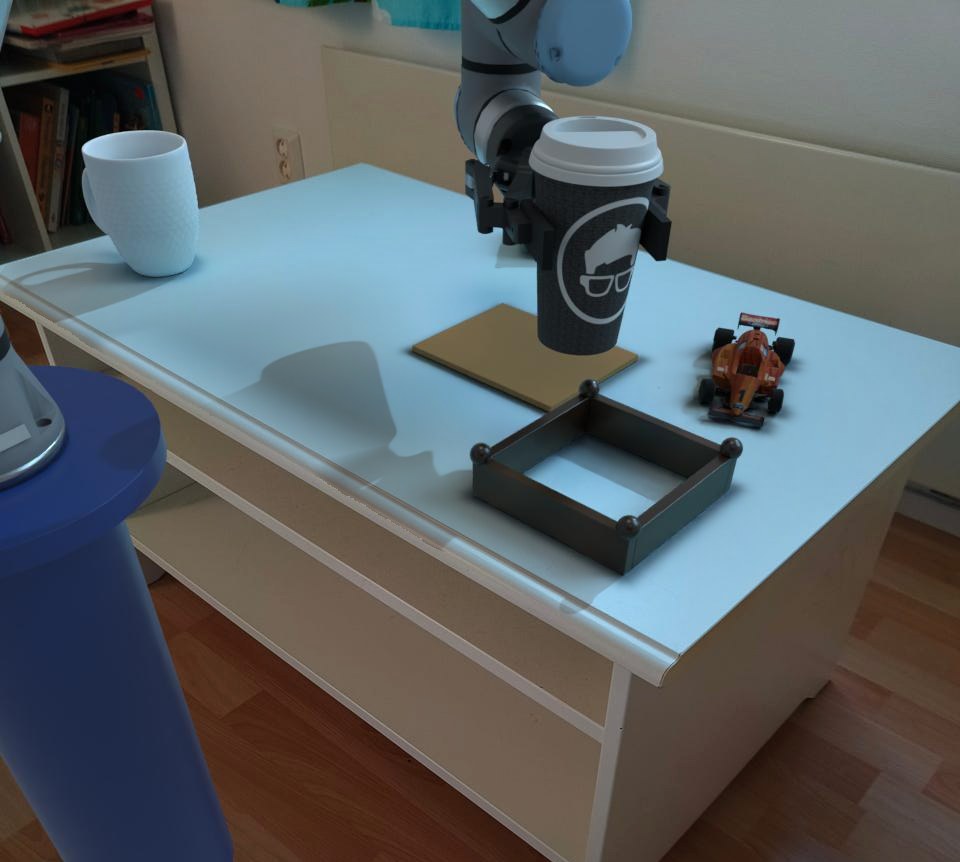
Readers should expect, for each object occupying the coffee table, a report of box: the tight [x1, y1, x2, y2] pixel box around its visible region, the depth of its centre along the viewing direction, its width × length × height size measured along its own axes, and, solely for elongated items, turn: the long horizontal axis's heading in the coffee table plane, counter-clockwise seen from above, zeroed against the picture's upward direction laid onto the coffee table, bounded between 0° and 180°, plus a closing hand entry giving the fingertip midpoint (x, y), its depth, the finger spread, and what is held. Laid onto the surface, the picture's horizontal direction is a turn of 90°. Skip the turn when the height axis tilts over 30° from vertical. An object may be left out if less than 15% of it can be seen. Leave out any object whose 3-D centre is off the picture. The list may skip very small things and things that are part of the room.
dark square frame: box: [469, 379, 744, 576], centre depth 71 cm, size 16×16×5 cm
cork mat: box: [411, 302, 639, 413], centre depth 89 cm, size 18×14×1 cm
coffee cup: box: [529, 115, 664, 356], centre depth 67 cm, size 10×10×15 cm
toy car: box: [697, 312, 796, 428], centre depth 84 cm, size 8×16×4 cm, turn 162°
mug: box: [81, 129, 200, 278], centre depth 101 cm, size 15×11×13 cm
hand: (606, 246), depth 62 cm, fingers closed on coffee cup, 8 cm apart
